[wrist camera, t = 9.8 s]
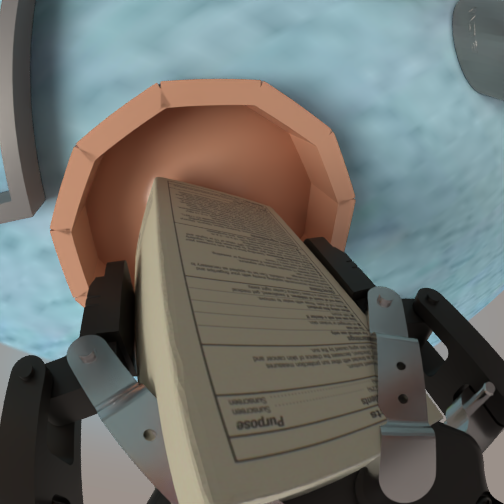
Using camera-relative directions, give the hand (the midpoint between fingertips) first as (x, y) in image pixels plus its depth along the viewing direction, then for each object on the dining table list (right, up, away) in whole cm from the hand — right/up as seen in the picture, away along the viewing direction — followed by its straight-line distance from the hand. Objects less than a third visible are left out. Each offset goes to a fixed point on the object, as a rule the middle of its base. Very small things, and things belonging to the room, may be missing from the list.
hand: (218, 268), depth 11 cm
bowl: (-1, +3, +4) cm, 5 cm away
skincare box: (-1, +2, +3) cm, 4 cm away
